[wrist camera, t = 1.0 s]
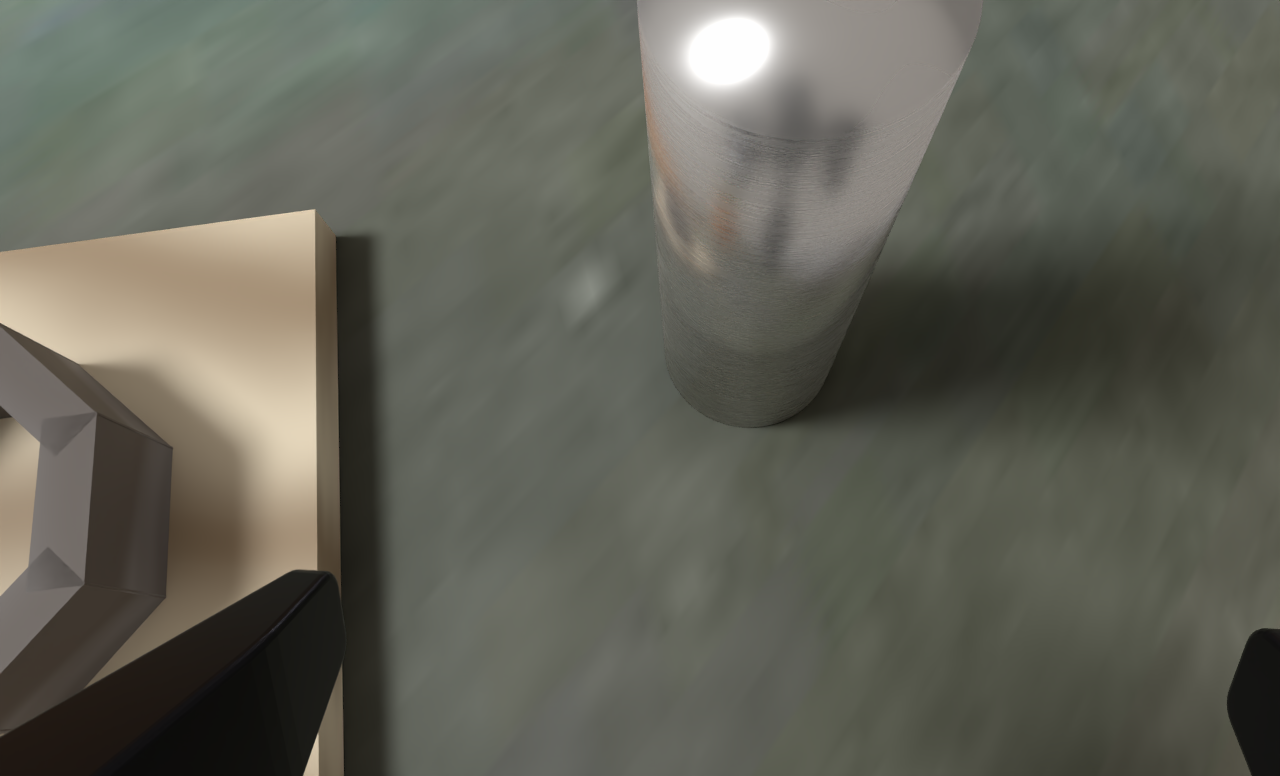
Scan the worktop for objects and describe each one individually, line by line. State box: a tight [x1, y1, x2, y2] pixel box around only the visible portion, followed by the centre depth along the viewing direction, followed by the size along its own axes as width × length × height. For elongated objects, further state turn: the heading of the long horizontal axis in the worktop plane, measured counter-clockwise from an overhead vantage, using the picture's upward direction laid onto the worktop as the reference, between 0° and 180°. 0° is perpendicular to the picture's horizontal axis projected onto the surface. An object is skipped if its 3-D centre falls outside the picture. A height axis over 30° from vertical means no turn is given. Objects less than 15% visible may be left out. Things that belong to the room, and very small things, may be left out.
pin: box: [637, 0, 983, 428], centre depth 18 cm, size 4×4×13 cm
